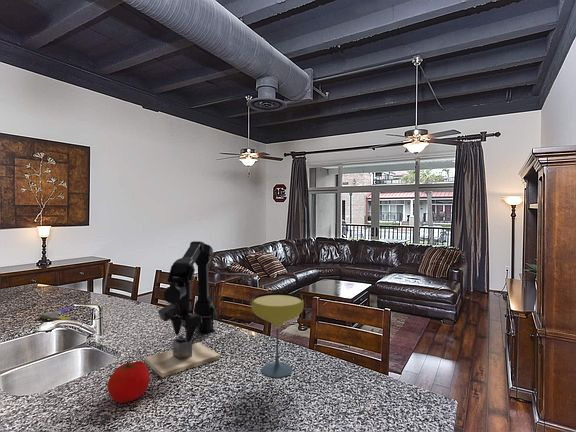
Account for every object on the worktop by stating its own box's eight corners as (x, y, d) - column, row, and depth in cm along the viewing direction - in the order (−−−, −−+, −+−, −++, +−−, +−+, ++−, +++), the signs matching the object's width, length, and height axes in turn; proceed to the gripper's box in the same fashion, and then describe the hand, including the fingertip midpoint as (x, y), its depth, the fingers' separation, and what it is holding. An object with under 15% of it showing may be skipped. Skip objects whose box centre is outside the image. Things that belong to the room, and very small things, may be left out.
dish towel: (104, 311, 188) (104, 306, 188) (58, 325, 166) (58, 319, 166) (82, 307, 196) (82, 302, 196) (36, 319, 174) (36, 314, 173)
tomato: (159, 390, 108) (159, 357, 107) (128, 413, 96) (128, 376, 96) (130, 383, 111) (130, 352, 111) (97, 405, 99) (96, 370, 99)
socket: (185, 352, 132) (185, 333, 132) (192, 356, 129) (192, 337, 128) (173, 355, 129) (173, 336, 129) (179, 360, 125) (179, 340, 125)
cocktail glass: (292, 387, 110) (293, 309, 109) (241, 377, 116) (242, 303, 115) (309, 363, 127) (310, 295, 126) (264, 355, 133) (264, 290, 132)
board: (199, 345, 142) (199, 332, 142) (220, 358, 130) (220, 344, 130) (144, 361, 127) (144, 346, 127) (162, 377, 115) (162, 361, 115)
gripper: (150, 294, 129) (150, 336, 130) (172, 305, 116) (172, 352, 116) (179, 290, 137) (179, 329, 137) (202, 299, 123) (202, 343, 123)
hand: (182, 338), depth 128 cm, fingers open, 9 cm apart
